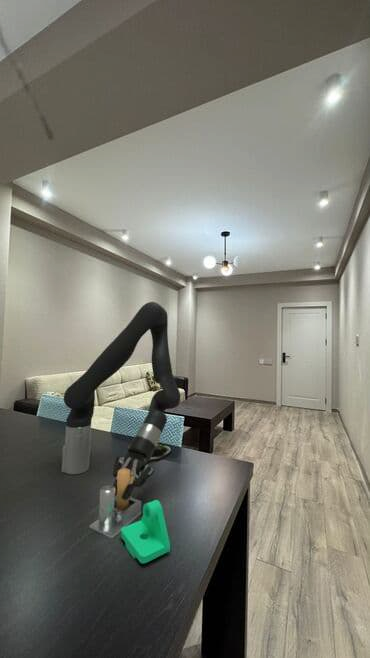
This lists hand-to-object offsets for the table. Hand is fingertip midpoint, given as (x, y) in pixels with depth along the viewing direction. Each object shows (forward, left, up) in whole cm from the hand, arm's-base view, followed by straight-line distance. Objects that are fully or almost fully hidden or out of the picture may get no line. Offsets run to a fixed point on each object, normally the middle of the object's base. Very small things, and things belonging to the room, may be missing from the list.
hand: (118, 496), depth 83 cm
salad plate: (+5, +47, -7) cm, 47 cm away
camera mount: (+9, -10, -7) cm, 15 cm away
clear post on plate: (0, 0, -6) cm, 6 cm away
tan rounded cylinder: (+1, +2, -4) cm, 5 cm away
